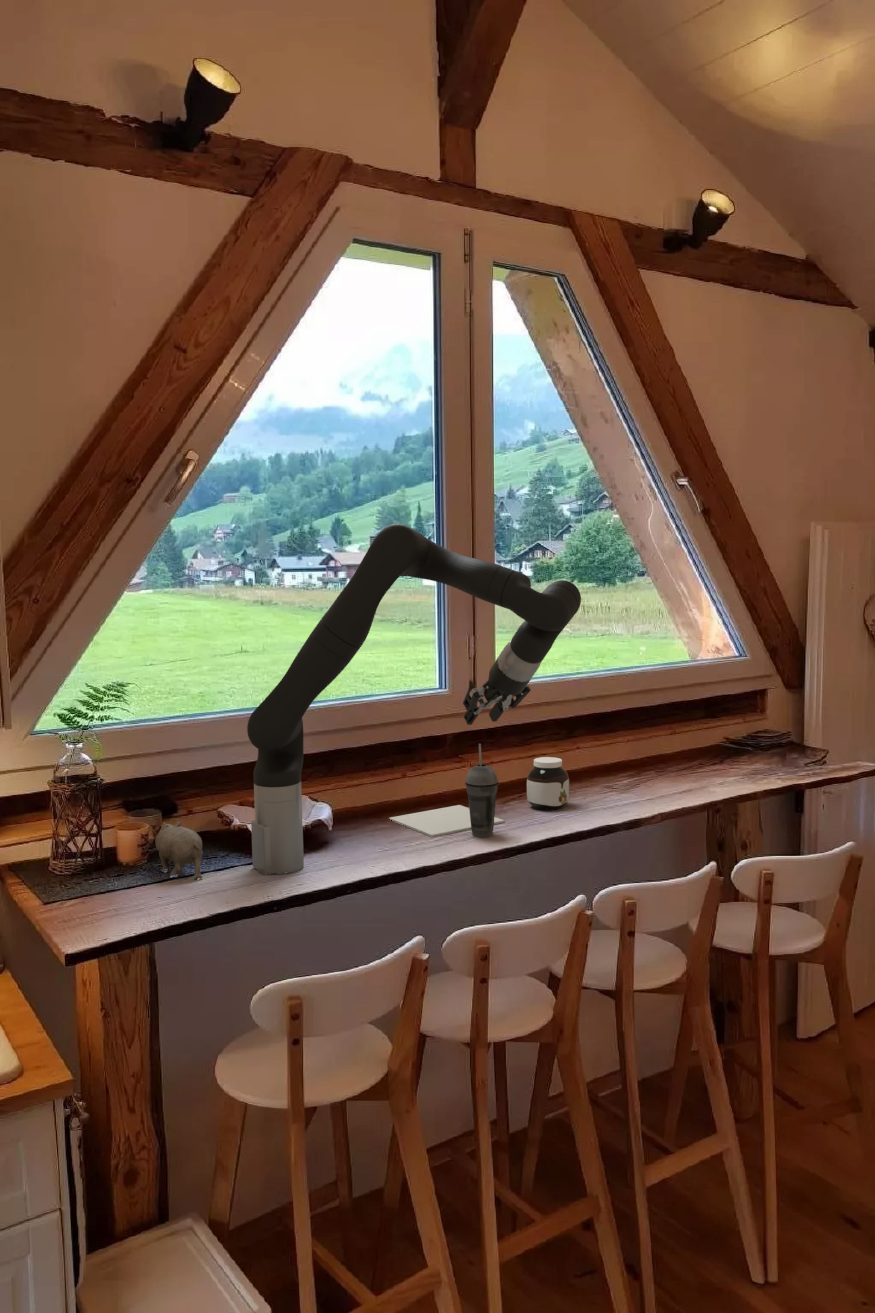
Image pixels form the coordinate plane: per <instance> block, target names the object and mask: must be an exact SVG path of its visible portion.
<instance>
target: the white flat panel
mask: <svg viewBox="0 0 875 1313" xmlns="http://www.w3.org/2000/svg"><path fill="white" fill-rule="evenodd" d="M389 819H390V820H389ZM388 820H389V821H391V820H392V821H391V822H393V821H394V822H393V823H396V824H397V825H398V824H399V825H401V826H403V825H404V826H403V827H405V826H406V827H405V828H407V829H410V830H413V831H416V832H419V833H420V834H423V835H425V836H427V837H428V836H429V837H430V838H434V837H439V836H444V835H449V834H453V833H454V834H455V833H459V832H465V831H468V830H472V829H471V821H470V811H469V807H467V806H464V805H461V804H457V805H451V806H446V807H441V808H436V809H430V810H424V811H419V812H413V813H408V814H402V815H398V816H397V815H396V816H391V817H389V818H388ZM505 821H506V820H504V819H501V818H498V817H495V816H494V826H495V825H498V824H499V825H500V824H504V823H505Z"/></svg>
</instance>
